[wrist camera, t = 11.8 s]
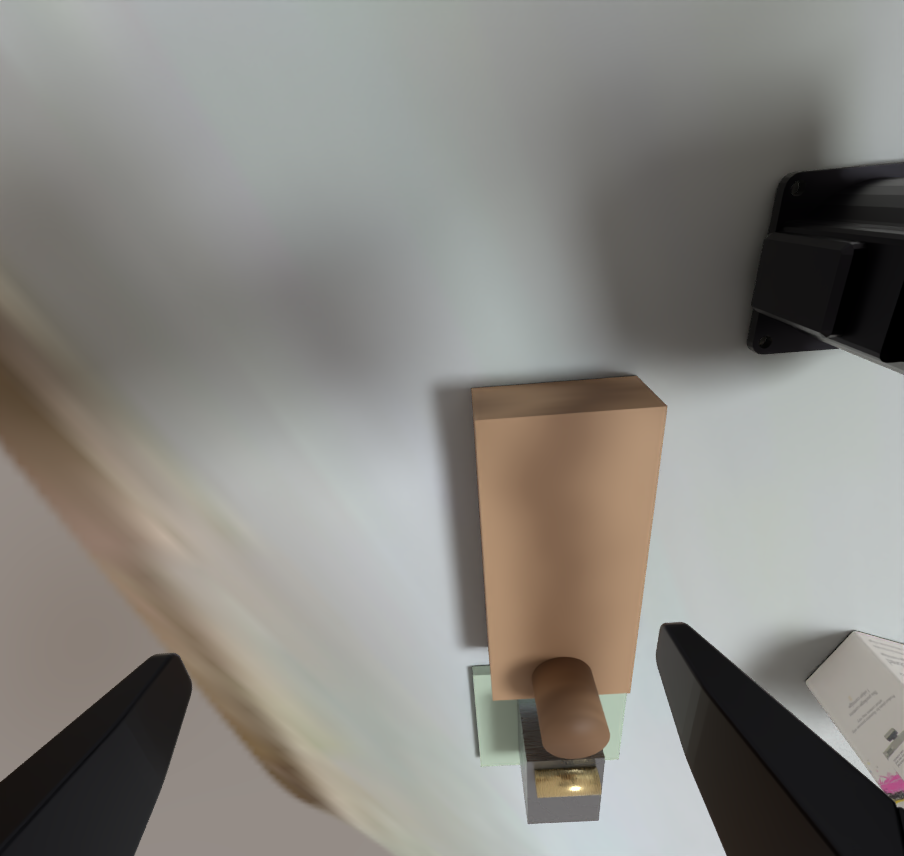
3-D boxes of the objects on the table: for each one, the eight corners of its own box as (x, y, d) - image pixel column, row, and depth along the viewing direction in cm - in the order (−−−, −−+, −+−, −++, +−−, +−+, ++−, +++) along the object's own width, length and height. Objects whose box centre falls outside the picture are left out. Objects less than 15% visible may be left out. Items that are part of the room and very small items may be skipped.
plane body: (636, 375, 20) (707, 445, 15) (611, 640, 27) (652, 755, 22) (471, 388, 21) (479, 461, 15) (488, 647, 28) (498, 762, 22)
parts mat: (626, 657, 28) (630, 666, 28) (615, 749, 32) (618, 759, 32) (472, 666, 28) (472, 675, 28) (480, 756, 32) (480, 766, 32)
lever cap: (585, 685, 28) (610, 779, 24) (581, 747, 31) (603, 841, 26) (516, 689, 28) (529, 783, 24) (518, 750, 31) (530, 845, 27)
